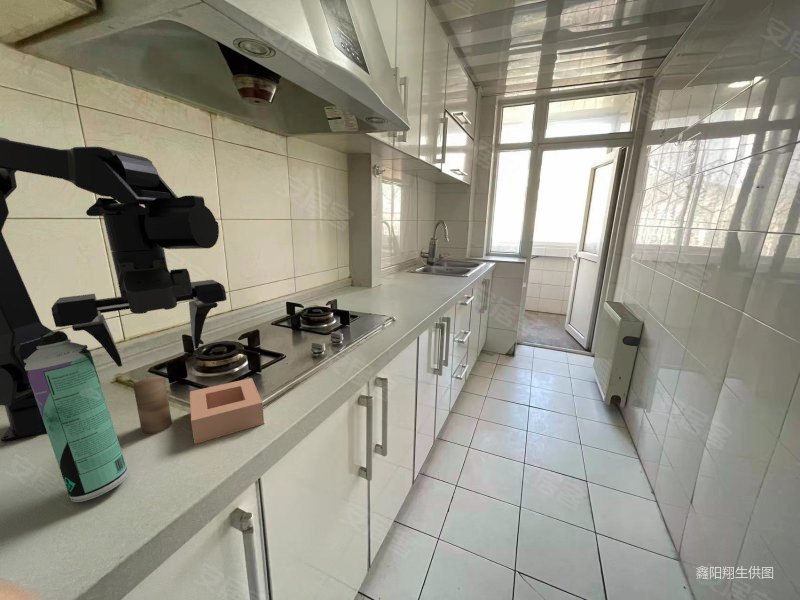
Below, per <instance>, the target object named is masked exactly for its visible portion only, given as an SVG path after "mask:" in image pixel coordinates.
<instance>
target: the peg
mask: <svg viewBox="0 0 800 600" xmlns="http://www.w3.org/2000/svg"><path fill="white" fill-rule="evenodd" d="M132 386H133V392H134V397H135V402H136V407H137V414H138V419H139V423H140V428H141V433H142V434H143V435H146V436H147V435H149V436H150V435H156V434H159V433H162V432H164V431H166V430H168V429H169V428H170V427H171V426H172V424H173V421H172V416H171V415H172V414H171V408H170V402H169V396H168V389H167V384H166V377H163V376H151V377H145V378H143V379H141V380H138V381H137V382H135V383H134V384H133V385H132Z"/></svg>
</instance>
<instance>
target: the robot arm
mask: <svg viewBox="0 0 800 600" xmlns="http://www.w3.org/2000/svg"><path fill="white" fill-rule="evenodd" d="M17 171H18V172H21V173H22V172H23V173H28V174H29V173H30V174H34V175H38V176H44V177H50V178H55V179H60V180H64V181H67V182H70V183H71V184H73V185H74V186H76V187H77V188H79V189H82V190H85V191H87V192H90V193H92V194H95V195H98V196H101V197H98V198H97V200H96V201H95V203H94V204H92V205H91V206H90V207H88V208H87V210H86V211H85V214H86V215H87V216H89V217H102V218H103V222H104V226H105V231H106V236H107V239H108V243H109V250H110V251H111V257H112V262H113V267H114V270H115V275H116V278H117V284H118V289H119V294H120V296H115V297H108V298H107V297H105V298H99V299H97V297H96V293H89V294H81V295H72V296H64V297H59V298H58V299H57V300H56V301H54V304H52V307H51V315H52V318H53V322H54V324H55V325H54V326H55V328H64V327H70V326H71V329H72V331H73V332H77V331H78V332H79V331H85V332H87V334H89V335H90V336H92V338H94V339H95V340H96V341H97V342H98V343H99V344H100V345H101V346H102V347H103V349H104V350H105V351H106V353H107V354H108V355H109V357H110V358H111V359H112V361H113V362H114V363H115V365H116V366H117V367H118V368H121V367H123V363H122V358H121V355H120V351H119V349H118V346H117V343H116V342H115V340H114V337H113V335H112V332H111V330H110V328H109V325H108V323H107V320H106V318H105V316H104V313H111V312H118V311H119V312H120V311H124V310H130V312H131V313H132V314H136V315H140V314H146V313H148V312H151V311H158V310H171V309H175V308H176V307H177V306H178V303H180V302H184V301H188V308H189V318H190V319H189V320H190V330H191V331H190V332H191V339H192V343H193V344H192V345H193V348H194V349H195V350H196V349H197V350H198V349H199V347H200V342H201V338H202V332H203V328H204V324H205V321H206V319H207V316H208V314H209V312H210V311H211V309H216V308H217V307H218V305H219V304H218V303H219V302H225V301H227V293H226V288H225V285H223V283H220V282H219V281H216V280H215V279H209V280H208V279H206V280H199V281H191V276H190V272H189V270H188V269H187V268H177V269H176V268H175V269H170V270H169V269H168V262H167V258H166V253H165V249H166V250H192V249H194V250H196V249H197V250H198V249H199V250H200V249H202V250H203V249H211V248H213V247H214V246H215V245H216V244H217V242H218V239H219V236H220V235H219V234H220V230H219V227H220V226H219V223H218V221H217V220H216V218H215V216H214V214H213V212H212V211H211V210H210V208H208V207H207V206H206V205H205V204H206V203H205V199H204V198H205V197H204V196H201V195H200V196H198V195H181V196H180V197H179V196H177V194H176V193H175V192H174V191H173V189H172V188H170V186H169V185H168V184H167V183H166V182H165V180H164V179H162V177H161V176H160V174H159V172H158V171H157V168H156V167H155V166H154V164H153V162H152V161H151V160H150V159H148V158H147V157H144V156H142V155H136V154H134V153H129V152H125V151H121V150H120V151H119V150H117V149H116V150H115V149H111V148H107V147H103V146H102V147H101V146H74V147H72V148H69V149H63V148H62V149H59V148H55V147H49V146H48V147H47V146H42V145H38V144H37V145H36V144H32V143H26V142H21V141H16V140H10V139H8V138H6V137H0V406H4V409H5V412H6V416H7V419H8V422H9V426H10V427H8V429H7V430H6V432H5V433H3V435H2V436H1V438H0V441H1V443H2V442H3V443H4V442H8V441H13V440H16V439H20V438H26V437H31V436H34V435H40V434H43V433H47V431H46V428H45V425H44V422H43V419H42V416H41V413H40V410H39V408H38V405H37V402H36V399H35V396H34V393H33V390H32V387H31V385H30V382H29V379H28V376H27V373H26V370H25V366H26V363H24V359H27V358H28V357H29V356H30V355H32V354H33V353H34V352H35V351H37V350H38V349H37V346H40V344H39V343H41V338H40V335H41V334H45V333H49V332H54V331H55V330H52V329H50V328H49V327H47V326H45V325H44V324H43V323H42V321H41V319H40V317H39V315H38V312H37V310H36V308H35V305H34V303H33V301H32V299H31V296H30V294H29V292H28V290H27V287H26V284H25V283H24V281H23V279H22V276H21V274H20V271H19V268H18V266H17V264H16V262H15V259H14V258H13V254H12V253H11V250H10V248H9V245H8V244H7V242H6V240H5V236H4V235H3V229H4V226H5V223H6V222H7V218H8V217H9V214H10V211H9V208H8V207H9V206H8V203H7V200H6V199H8V197H10V195H11V194H12V193H14V191H15V190H16V189H17V186H18V185H17V180H16V175H15V173H16V172H17ZM60 331H61V334H62V336H63V338H64V337H65V338H66V340H67V339H69V336H68V334H66V332H64V331H63V330H60Z"/></svg>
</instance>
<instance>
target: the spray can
mask: <svg viewBox="0 0 800 600" xmlns="http://www.w3.org/2000/svg"><path fill="white" fill-rule="evenodd" d="M53 331H54V332H49V333H45V334H41V335H40V338H41V343H39V344H40V346H37V349H38V350H37V351H35V352H34V353H33V354H32V355H30V356H29V357H28V358H27V359H24V363H26V366H25V370H26V373H27V376H28V379H29V382H30V385H31V387H32V390H33V393H34V396H35V399H36V402H37V405H38V408H39V410H40V413H41V416H42V419H43V422H44V425H45V428H46V431H47V432H46V433H47V436H48V438H49V442H50V444H51V447H52V451H53V453H54V456H55V459H56V462H57V464H58V468H59V471H60V474H61V475H62V479H63V482H64V485H65V488H66V491H67V494H68V497H69V498H70V500H71V502H72V503H80V502H81V503H82V502H85V501H89V500H92V499H95V498H97V497H100V496H102V495H104V494H106V493H107V492H109V491H111V490H113V489H114V488H116V487H118V486H119V485H121V484H122V483H123V482H124V481H125V480H126V479H127V478H128V476H129V471H128V468H127V467H128V466H127V464H126V461H125V458H124V455H123V452H122V448H121V445H120V441H119V439H118V435H117V432H116V429H115V426H114V422H113V419H112V416H111V414H110V410H109V407H108V404H107V401H106V398H105V395H104V391H103V388H102V385H101V382H100V378H99V375H98V373H97V369H96V365H95V362H94V360H93V359H94V358H93V356H92V353H91V350H89V349H88V345H86V344H81V343H77V342H73V341H72V340H71V338H68V339H67V340H66V338H65V337H64V338H63V336H62V334H61V331H62V330H56V331H55V330H53Z"/></svg>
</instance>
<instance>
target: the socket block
mask: <svg viewBox="0 0 800 600" xmlns="http://www.w3.org/2000/svg"><path fill="white" fill-rule="evenodd" d="M189 401H190V403H189V404H190V421H191V429H192V436H193V442H194V445H197V444H199V443H203V442H205V441H209V440H214V439H216V438H221V437H223V436H226V435H230V434H234V433H237V432H240V431H243V430H246V429H251V428H254V427H258V426H261V425H264V424H265V419H264V418H265V415H264V407H263V406H264V405H263V401H262V398H261V396H260V394H259V392H258V388H257V386H256V385H255V382H254V379H253V378H252V377H249V378H246V379H241V380H237V381H232V382H227V383H221V384H218V385H217V384H216V385H214V386H208V387H204V388H200V389H195V390H191V391H189ZM214 407H215V408H214Z"/></svg>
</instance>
